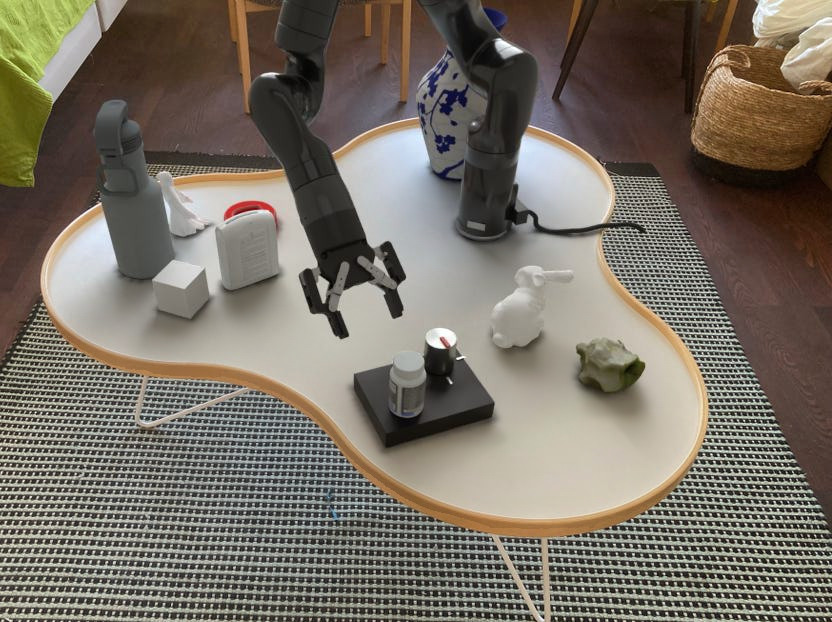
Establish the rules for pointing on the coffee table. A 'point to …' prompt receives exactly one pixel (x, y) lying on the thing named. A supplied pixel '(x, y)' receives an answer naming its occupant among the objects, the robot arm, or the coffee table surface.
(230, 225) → the photo printer
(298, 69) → the robot arm
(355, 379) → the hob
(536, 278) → the rabbit
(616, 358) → the greyish green lumpy piece
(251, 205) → the decorative ornament
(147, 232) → the water bottle
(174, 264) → the white cube
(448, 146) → the vase
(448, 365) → the knob
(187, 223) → the figurine
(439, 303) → the coffee table surface
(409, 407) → the pill bottle
